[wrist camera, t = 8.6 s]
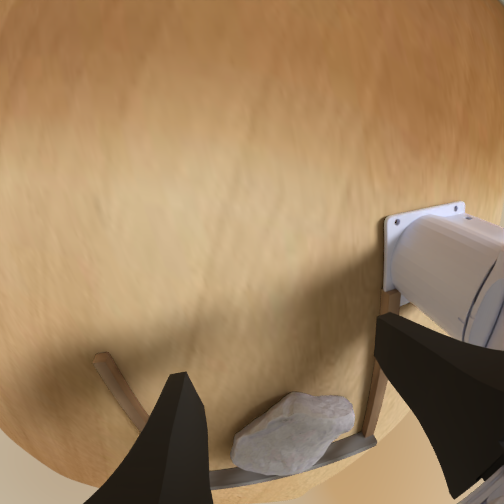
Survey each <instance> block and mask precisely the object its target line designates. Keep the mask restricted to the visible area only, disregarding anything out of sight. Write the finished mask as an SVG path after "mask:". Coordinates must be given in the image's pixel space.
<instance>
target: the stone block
mask: <svg viewBox="0 0 504 504" xmlns="http://www.w3.org/2000/svg"><path fill="white" fill-rule="evenodd" d="M354 421H355V414H354V411H353V406H352V404H351V403H350V402H349V401H348V400H347V399H346V398H344V397H342V396H332V395H329V396H311V395H308V394H306V393H299V392H291V393H290V394H288V395H286V396H285V397H283V399H281V400H280V402H278V403H277V404H276V405H274V406H273V407H271V408H270V409H269V410H268V411H267V412H266V413H264V414H263V415H261V416H260V417H258V418H256V419H254V420H253V421H252V422H251V423H250V424H248V425H247V426H246V427H245V428H244V429H242V430H241V431H240V432H238V433H237V434H236V435H235V436H234V443H233V447H232V448H231V453H230V457H231V460H232V462H233V463H234V464H235V465H236V466H238V467H239V468H241V469H243V470H246V471H252V472H256V473H261V474H264V475H279V476H284V475H291V474H297V473H301V472H304V471H306V470H308V469H309V468H311V467H312V466H313V465H314V464H315V463H316V462H317V461H318V460H319V459H320V458H321V457H322V456H323V455H324V453H325V452H326V450H327V448H328V446H329V445H330V444H331V443H332V441H333V440H335V439H337V438H338V437H339V435H341V434H343V433H346V432H348V431H350V430H351V428H352V427H353V426H354Z"/></svg>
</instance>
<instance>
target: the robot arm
mask: <svg viewBox="0 0 504 504" xmlns="http://www.w3.org/2000/svg"><path fill="white" fill-rule="evenodd" d="M454 207H455V208H454ZM396 219H397V222H396V224H395V220H396ZM393 289H397V290H398V291H399V292H400V293H401V300H400V306H402V305H405V304H407V303H410V302H411V303H412V304H413V305H415V306H416V307H417V308H418V309H419V310H421V311H422V312H423V313H424V314H425V315H427V316H428V317H429V318H430V319H431V320H432V321H434V322H435V323H436V324H437V325H438V326H439V327H441V328H442V329H443V330H444V331H445V332H446V333H447V334H449V335H450V336H451V337H452V338H451V337H448V336H446V335H443V334H441V333H438V332H436V331H433V330H431V329H429V328H426V327H424V326H422V325H420V324H417V323H415V322H413V321H411V320H408V319H406V318H404V317H402V316H399V315H397V314H394V313H392V312H388V313H385V314H383V315H380V316H378V317H377V323H376V338H375V350H374V356H375V358H376V360H377V362H378V364H379V366H380V367H381V369H382V371H383V373H384V374H385V376H386V377H387V378H388V380H389V381H390V382H391V384H392V385H393V386H394V388H395V389H396V390H397V392H398V393H399V394H400V396H401V397H402V398H403V400H404V401H405V402H406V404H407V405H408V406H409V407H410V409H411V410H412V411H413V413H414V414H415V416H416V417H417V419H418V420H419V422H420V424H421V426H422V428H423V429H424V431H425V433H426V435H427V437H428V439H429V441H430V443H431V445H432V447H433V449H434V451H435V453H436V455H437V458H438V461H439V463H440V465H441V468H442V471H443V473H444V476H445V479H446V482H447V486H448V489H449V493H450V494H451V496H452V498H453V499H456V498H457V497H458V496H460V495H461V494H463V493H464V492H465V491H466V490H468V489H469V488H470V487H471V486H473V485H474V484H475V483H476V482H478V481H479V480H480V479H481V478H483V480H484V481H485V482H484V483H483V484H481V485H480V486H479V487H478V488H477V489H476V490H475V491H473V492H472V493H470V494H469V495H468V496H467V497H465V498H464V499H463V500H462V501H460V502H459V503H457V504H504V228H503V227H500V226H498V225H495V224H493V223H490V222H488V221H485V220H483V219H480V218H477V217H475V216H472V215H469V214H466V213H465V203H464V202H462V201H457V202H452V203H447V204H442V205H437V206H433V207H428V208H423V209H418V210H414V211H409V212H404V213H399V214H395V215H390V216H387V217H386V219H385V221H384V283H383V290H384V291H385V292H387V291H390V290H393ZM83 504H213V499H212V494H211V489H210V479H209V457H208V429H207V422H206V416H205V409H204V405H203V403H202V401H201V399H200V397H199V396H198V394H197V392H196V390H195V388H194V386H193V384H192V382H191V380H190V378H189V376H188V374H187V372H181V373H175V374H170V376H169V377H168V379H167V382H166V384H165V386H164V388H163V390H162V392H161V395H160V397H159V399H158V401H157V403H156V405H155V407H154V409H153V411H152V413H151V415H150V417H149V419H148V421H147V423H146V425H145V426H144V428H143V430H142V432H141V433H140V435H139V437H138V439H137V440H136V442H135V444H134V445H133V447H132V448H131V450H130V451H129V453H128V454H127V456H126V457H125V458H124V460H123V461H122V463H121V464H120V465H119V467H118V468H117V469H116V470H115V471H114V473H113V474H112V475H111V476H110V477H109V479H108V480H107V481H106V482H105V483H104V484H103V485H102V486H101V487H100V488H99V489H98V490H97V491H96V492H95V493H94V494H93V495H92V496H91V497H90V498H89V499H88V500H87V501H86V502H84V503H83Z"/></svg>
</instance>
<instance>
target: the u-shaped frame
mask: <svg viewBox="0 0 504 504" xmlns="http://www.w3.org/2000/svg"><path fill="white" fill-rule="evenodd" d="M400 300H401V293H400V292H399V291H398V290H397V289H393V290H390V291H387V292H385V291H384V290H383V288H382V289H381V306H380V315H383V314H385V313H388V312H392V313H394V314H397V315H399V309H400ZM93 365H94V367H95V368H96V370H97V372H98V373H99V375H100V376H101V378H102V379H103V381H104V383H105V384H106V386H107V387H108V389H109V390H110V391H111V393H112V394H113V396H114V397H115V399H116V400H117V402H118V403H119V404H120V406H121V407H122V408H123V410H124V411H125V412H126V414H127V415H128V416H129V418H130V419H131V420H132V422H133V423H134V424H135V425H136V427H137V428H138V429H139V430H140V432H142V430H143V428H144V426H145V425H146V423H147V421H148V419H149V416H148V414H147V413H146V412H145V410H144V409H143V407H142V406H141V404H140V403H139V401H138V400H137V398H136V397H135V395H134V394H133V392H132V391H131V389H130V388H129V386H128V384H127V383H126V381H125V379H124V378H123V376H122V375H121V373H120V371H119V369H118V368H117V366H116V364H115V363H114V361H113V359H112V357H111V355H110V354H109V352H105V353H97V354H96V356H95V358H94V360H93ZM387 381H388V378H387V377H386V376H385V374H384V373H383V371H382V369H381V367H380V366H379V364H378V362H377V360H376V358H375V363H374V370H373V376H372V382H371V388H370V394H369V399H368V404H367V409H366V414H365V419H364V423H363V428H362V432H360V433H357V434H355V435H352V436H350V437H347V438H344V439H342V440H339V441H336V442H333V443H331V444H330V445H329V446H328V448H327V450H326V452H325V453H324V455H323V456H322V457H321V458H320V459H319V460H318V461H317V462H316V463H315V464H314V465H313V466H312V467H311V468H309V469H308V470H306V471H309V470H313V469H316V468H319V467H322V466H325V465H328V464H331V463H334V462H337V461H339V460H342V459H345V458H347V457H350V456H352V455H355V454H357V453H360V452H362V451H365V450H367V449H369V448H372V447H374V446H376V444H377V440H376V438H375V437H374V435H373V434H374V431H375V427H376V424H377V421H378V417H379V413H380V410H381V406H382V402H383V398H384V394H385V390H386V385H387ZM306 471H304V472H306ZM301 473H303V472H301ZM297 474H299V473H297ZM292 475H295V474H291V475H284V476H279V475H264V474H261V473H256V472H252V471H246V470H243V469H241V468H239V467H237V468H231V469H224V470H217V471H209V479H210V489H211V490H217V489H226V488H233V487H239V486H246V485H251V484H257V483H262V482H266V481H271V480H276V479H280V478H284V477H288V476H292Z"/></svg>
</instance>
